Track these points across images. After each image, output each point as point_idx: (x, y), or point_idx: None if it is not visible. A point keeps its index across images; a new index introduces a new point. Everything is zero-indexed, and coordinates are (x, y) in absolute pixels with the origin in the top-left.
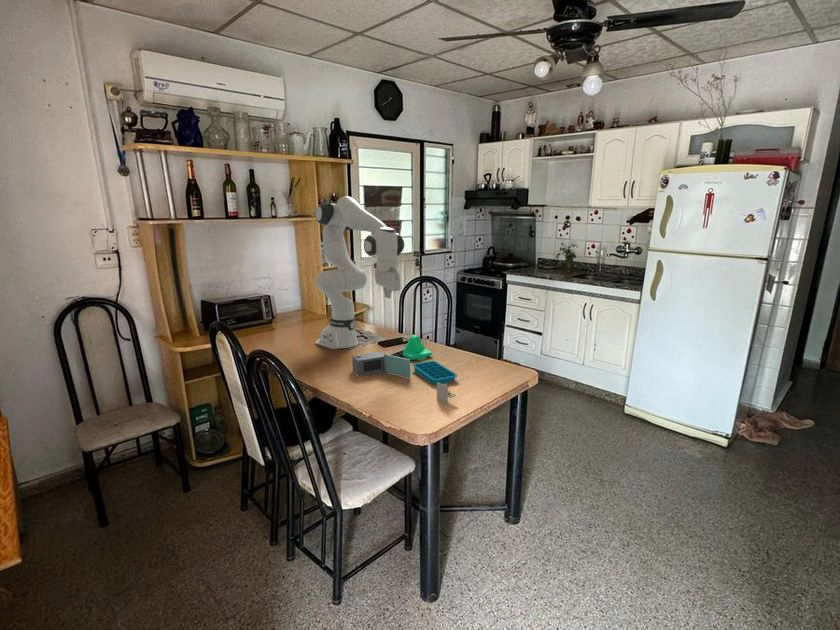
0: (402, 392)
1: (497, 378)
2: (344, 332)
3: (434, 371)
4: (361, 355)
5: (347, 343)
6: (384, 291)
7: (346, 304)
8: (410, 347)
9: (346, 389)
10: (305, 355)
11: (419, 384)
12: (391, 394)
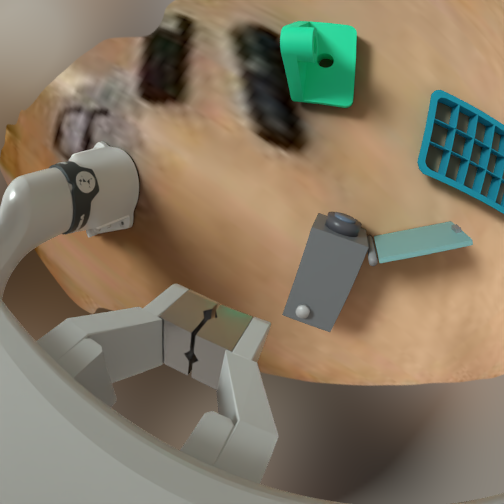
0: (478, 296)
1: None
2: (102, 206)
3: (486, 157)
4: (300, 297)
5: (128, 194)
6: (135, 373)
7: (30, 222)
8: (302, 71)
9: (371, 360)
10: (143, 291)
11: (487, 234)
12: (464, 318)
